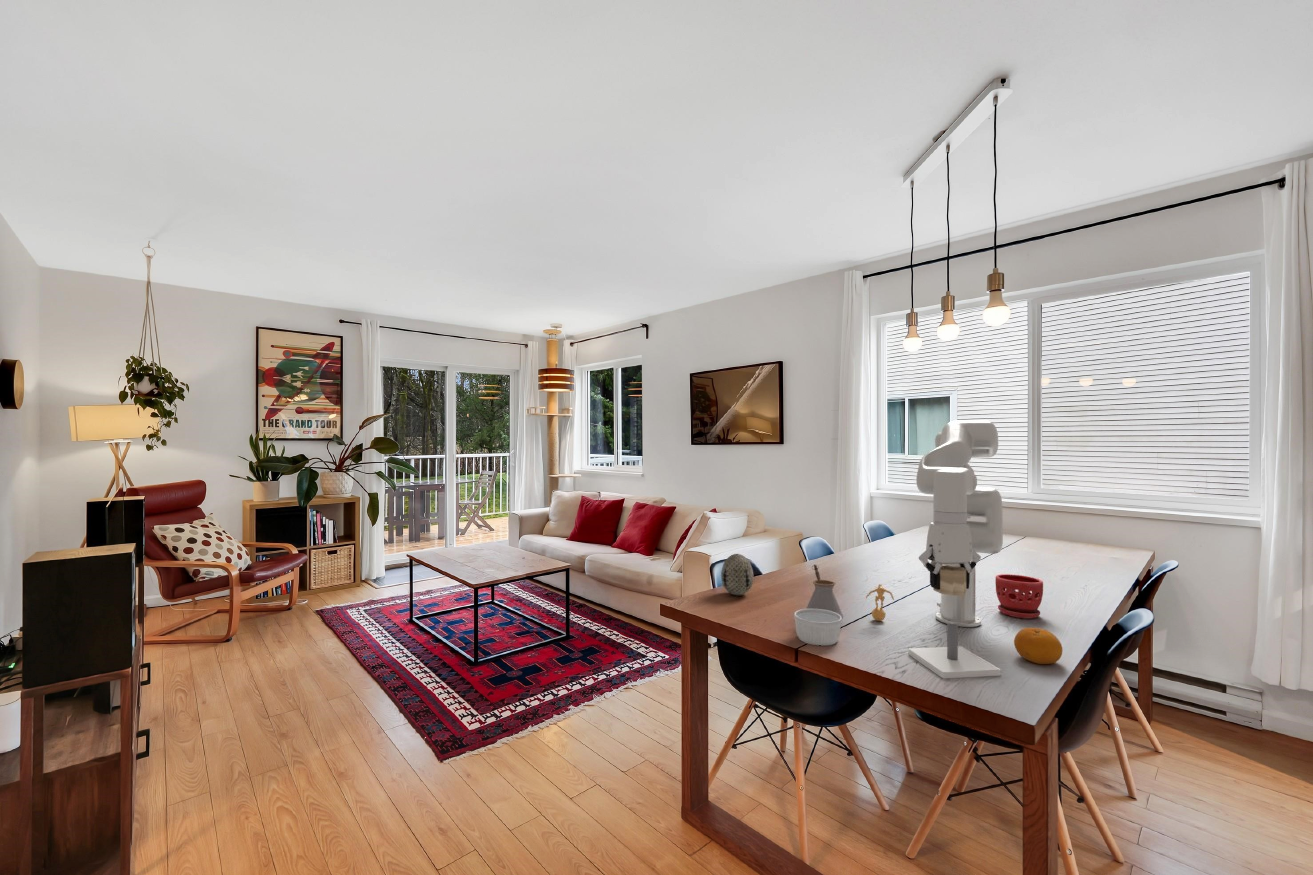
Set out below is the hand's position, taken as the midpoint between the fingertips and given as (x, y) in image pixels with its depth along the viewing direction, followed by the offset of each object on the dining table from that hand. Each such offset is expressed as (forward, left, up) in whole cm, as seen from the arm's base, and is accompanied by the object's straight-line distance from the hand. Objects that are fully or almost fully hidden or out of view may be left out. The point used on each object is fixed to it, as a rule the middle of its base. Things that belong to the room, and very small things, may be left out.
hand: (949, 587), depth 143 cm
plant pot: (-35, +48, -20) cm, 62 cm away
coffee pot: (-38, -18, -20) cm, 46 cm away
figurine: (-33, -1, -20) cm, 38 cm away
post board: (0, +1, -20) cm, 20 cm away
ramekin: (-21, -26, -20) cm, 39 cm away
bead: (0, 0, -1) cm, 1 cm away
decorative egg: (-66, -38, -20) cm, 79 cm away
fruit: (+1, +24, -20) cm, 31 cm away
